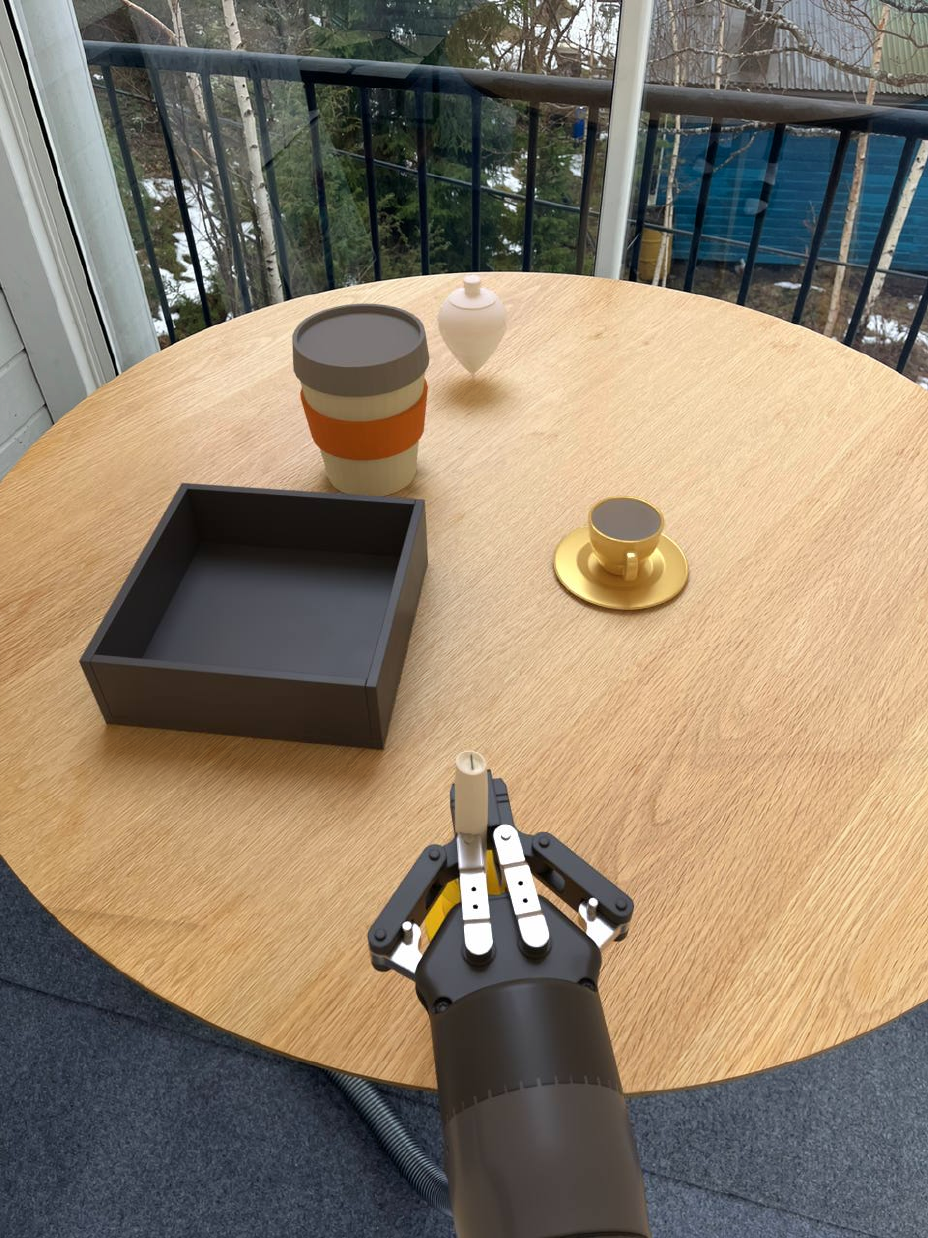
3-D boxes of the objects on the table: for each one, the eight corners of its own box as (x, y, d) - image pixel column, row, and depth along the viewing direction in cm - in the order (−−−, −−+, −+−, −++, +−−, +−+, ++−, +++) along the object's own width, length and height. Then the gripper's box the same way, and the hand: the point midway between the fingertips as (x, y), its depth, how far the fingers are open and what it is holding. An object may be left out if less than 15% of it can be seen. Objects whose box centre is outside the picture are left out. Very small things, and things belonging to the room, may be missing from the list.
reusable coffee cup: (306, 512, 90) (283, 371, 80) (313, 439, 99) (293, 304, 89) (436, 505, 91) (431, 365, 80) (431, 434, 100) (425, 299, 89)
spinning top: (443, 361, 111) (440, 261, 102) (507, 363, 110) (510, 263, 102) (436, 395, 105) (432, 293, 97) (504, 398, 105) (506, 295, 96)
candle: (507, 878, 56) (516, 705, 45) (523, 960, 52) (537, 794, 42) (420, 888, 56) (409, 717, 45) (430, 972, 52) (419, 807, 41)
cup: (547, 526, 88) (550, 478, 85) (674, 523, 88) (683, 476, 85) (558, 614, 80) (562, 566, 76) (699, 611, 80) (710, 563, 76)
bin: (105, 723, 72) (78, 661, 67) (198, 544, 87) (181, 482, 82) (383, 750, 70) (376, 687, 65) (428, 561, 85) (425, 499, 80)
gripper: (712, 1069, 36) (603, 720, 48) (363, 1120, 34) (343, 749, 47) (681, 1136, 41) (590, 806, 53) (377, 1182, 40) (356, 833, 52)
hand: (474, 780), depth 50 cm, fingers closed
